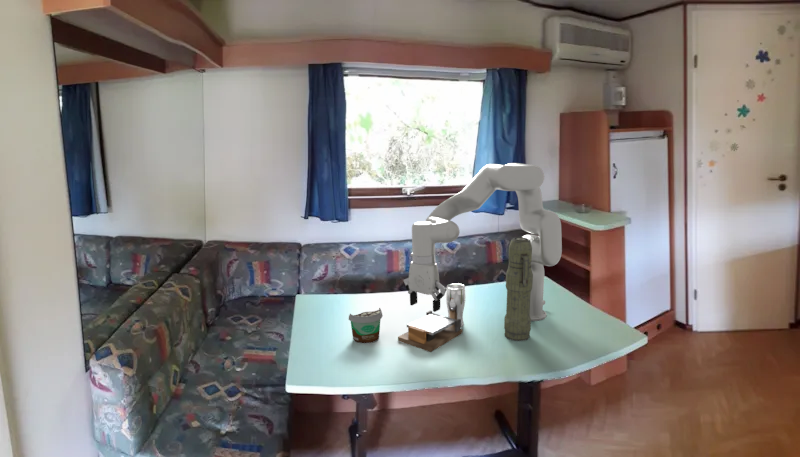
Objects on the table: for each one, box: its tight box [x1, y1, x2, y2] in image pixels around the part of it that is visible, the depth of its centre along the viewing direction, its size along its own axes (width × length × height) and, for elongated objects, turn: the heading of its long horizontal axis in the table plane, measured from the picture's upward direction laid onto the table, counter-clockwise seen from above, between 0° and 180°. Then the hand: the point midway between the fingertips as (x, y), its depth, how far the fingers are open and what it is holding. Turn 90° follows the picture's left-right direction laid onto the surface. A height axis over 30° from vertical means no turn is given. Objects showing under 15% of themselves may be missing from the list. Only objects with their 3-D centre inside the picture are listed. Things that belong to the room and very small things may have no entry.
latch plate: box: [397, 310, 464, 353], centre depth 176 cm, size 19×14×6 cm
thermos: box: [503, 236, 533, 342], centre depth 173 cm, size 9×12×35 cm
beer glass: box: [445, 283, 466, 328], centre depth 185 cm, size 7×7×15 cm
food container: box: [348, 307, 384, 344], centre depth 173 cm, size 12×6×10 cm, turn 117°
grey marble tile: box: [406, 312, 456, 335], centre depth 176 cm, size 15×11×2 cm
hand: (424, 307), depth 171 cm, fingers open, 9 cm apart
